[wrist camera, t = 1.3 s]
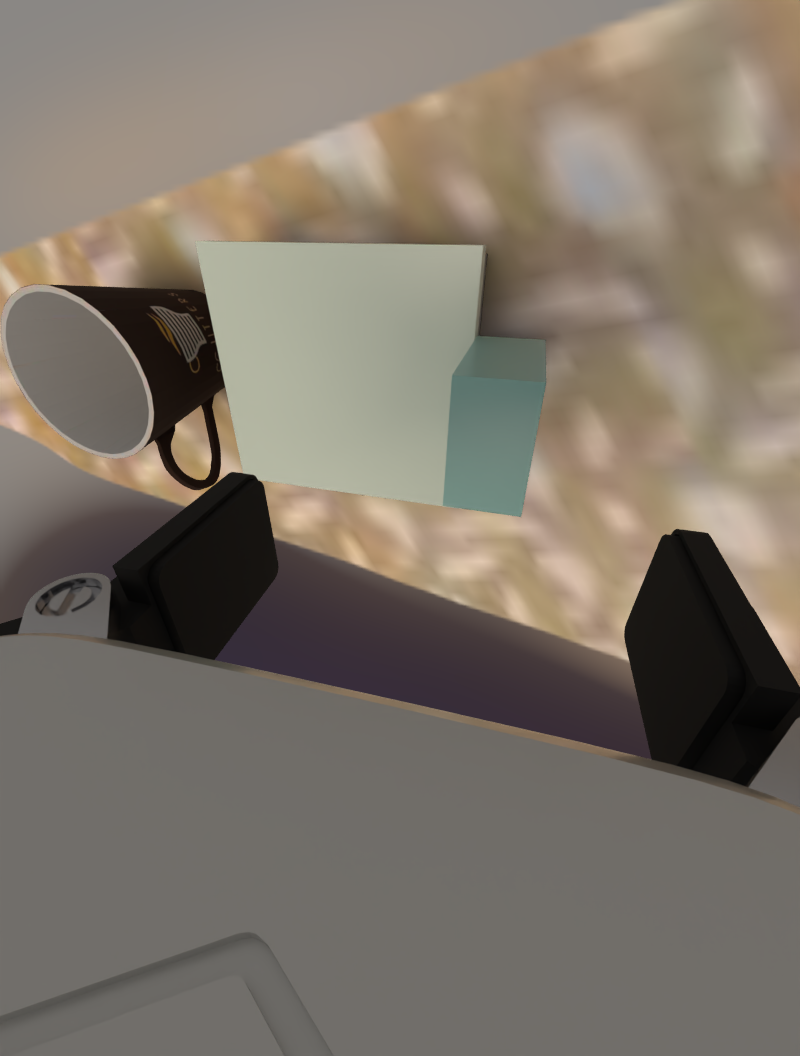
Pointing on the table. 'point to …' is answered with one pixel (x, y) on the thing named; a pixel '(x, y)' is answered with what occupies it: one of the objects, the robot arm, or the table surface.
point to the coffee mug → (115, 366)
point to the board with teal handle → (373, 371)
